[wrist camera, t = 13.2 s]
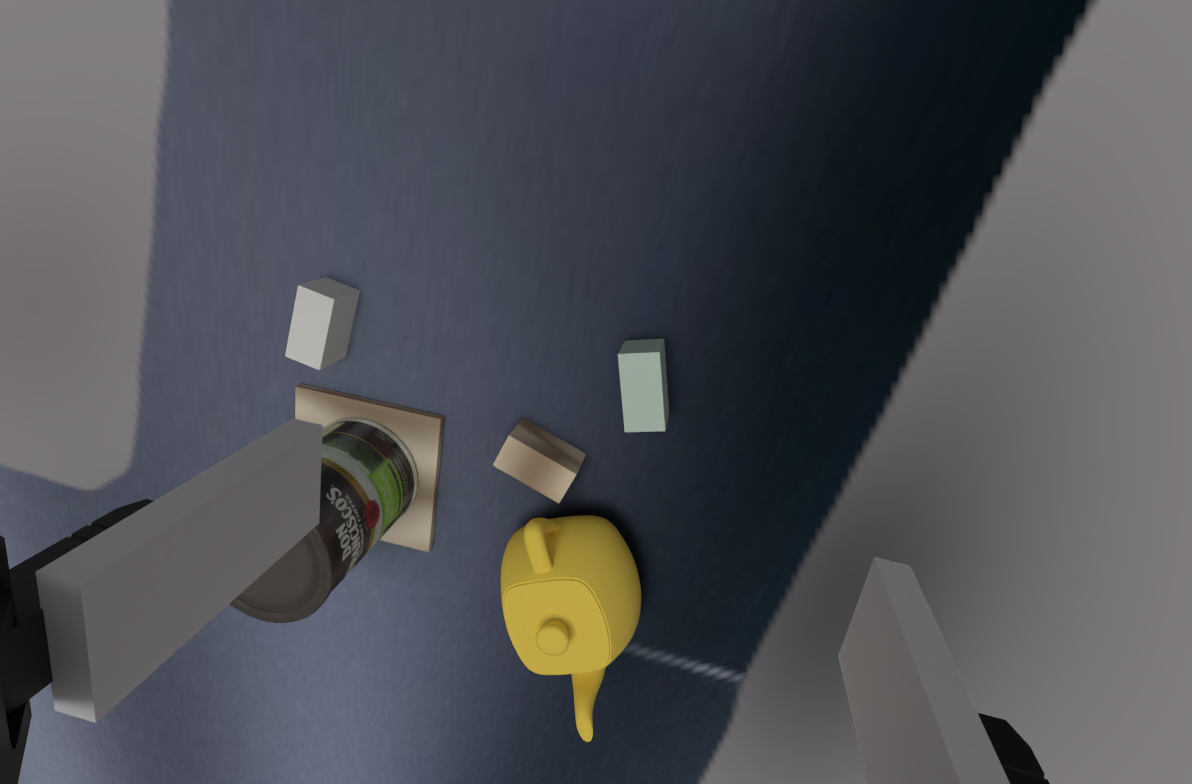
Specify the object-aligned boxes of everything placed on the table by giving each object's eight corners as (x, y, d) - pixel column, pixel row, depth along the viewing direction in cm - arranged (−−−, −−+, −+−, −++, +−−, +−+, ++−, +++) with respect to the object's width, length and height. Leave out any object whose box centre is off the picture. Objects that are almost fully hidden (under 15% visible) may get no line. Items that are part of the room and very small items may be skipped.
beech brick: (508, 445, 57) (492, 465, 53) (523, 417, 56) (508, 435, 52) (569, 481, 57) (559, 503, 53) (586, 453, 56) (576, 474, 52)
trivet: (301, 383, 59) (295, 386, 58) (444, 416, 57) (440, 419, 56) (299, 514, 63) (294, 518, 62) (432, 547, 62) (428, 552, 61)
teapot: (666, 648, 61) (655, 744, 51) (550, 659, 63) (517, 752, 53) (618, 465, 56) (596, 531, 46) (495, 485, 58) (447, 552, 48)
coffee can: (406, 413, 57) (311, 489, 44) (428, 524, 60) (345, 625, 47) (296, 417, 59) (173, 491, 46) (322, 524, 62) (214, 622, 49)
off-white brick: (327, 276, 55) (298, 285, 51) (360, 290, 55) (334, 299, 51) (313, 343, 57) (285, 356, 54) (346, 356, 57) (319, 370, 53)
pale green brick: (625, 340, 52) (617, 354, 49) (664, 338, 52) (659, 352, 48) (631, 413, 54) (624, 432, 51) (669, 412, 54) (665, 431, 50)
